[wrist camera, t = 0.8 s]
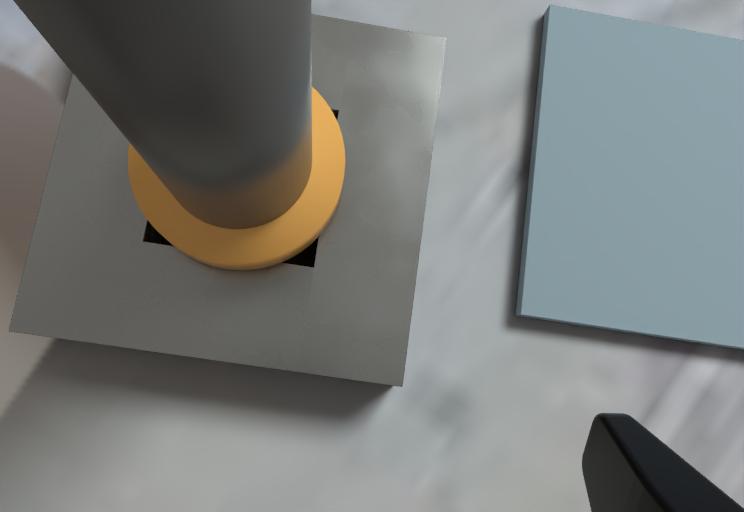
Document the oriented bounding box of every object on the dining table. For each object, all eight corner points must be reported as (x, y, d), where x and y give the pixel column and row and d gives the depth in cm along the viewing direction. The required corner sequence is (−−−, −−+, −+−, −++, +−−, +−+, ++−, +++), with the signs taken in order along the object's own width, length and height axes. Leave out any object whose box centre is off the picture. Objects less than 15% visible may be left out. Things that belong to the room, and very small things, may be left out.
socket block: (394, 385, 21) (402, 386, 19) (37, 334, 21) (8, 331, 19) (435, 65, 24) (446, 38, 22) (115, 9, 23) (97, -25, 21)
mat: (831, 363, 23) (844, 362, 22) (515, 315, 22) (521, 314, 22) (830, 65, 25) (843, 58, 25) (544, 13, 24) (550, 4, 24)
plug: (325, 292, 22) (365, 45, 5) (140, 265, 21) (-482, -105, 5) (352, 122, 23) (455, -534, 6) (177, 92, 22) (-212, -695, 6)
